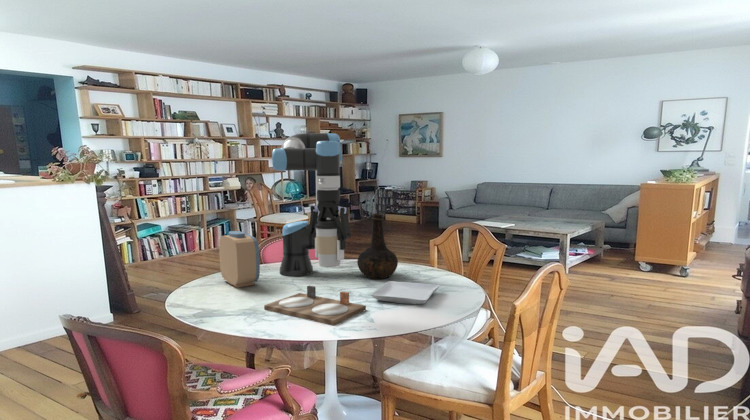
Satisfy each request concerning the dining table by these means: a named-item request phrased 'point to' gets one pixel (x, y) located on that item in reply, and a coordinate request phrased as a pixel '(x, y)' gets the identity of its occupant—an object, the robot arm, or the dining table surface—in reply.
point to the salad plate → (405, 292)
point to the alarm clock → (239, 259)
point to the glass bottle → (377, 254)
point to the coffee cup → (327, 243)
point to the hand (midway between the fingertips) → (329, 257)
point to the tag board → (316, 307)
